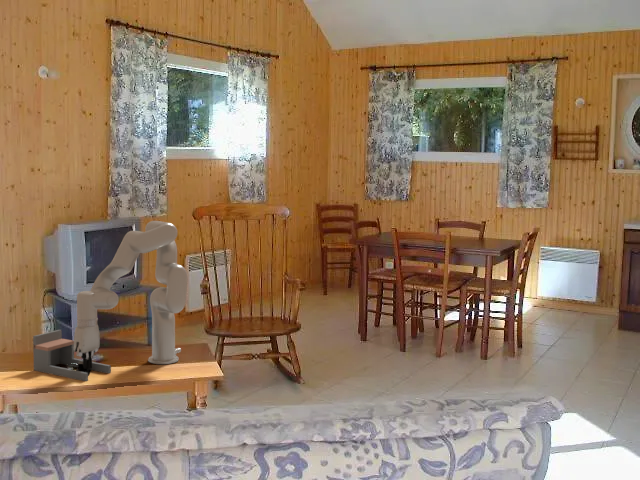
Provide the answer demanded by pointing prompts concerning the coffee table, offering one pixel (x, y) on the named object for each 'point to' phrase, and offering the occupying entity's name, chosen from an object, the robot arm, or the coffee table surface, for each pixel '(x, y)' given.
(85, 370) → the black block
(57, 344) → the grey forked stand
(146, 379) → the coffee table surface
